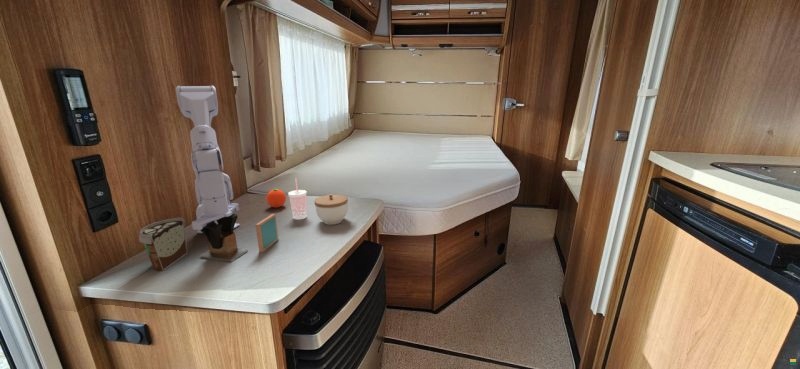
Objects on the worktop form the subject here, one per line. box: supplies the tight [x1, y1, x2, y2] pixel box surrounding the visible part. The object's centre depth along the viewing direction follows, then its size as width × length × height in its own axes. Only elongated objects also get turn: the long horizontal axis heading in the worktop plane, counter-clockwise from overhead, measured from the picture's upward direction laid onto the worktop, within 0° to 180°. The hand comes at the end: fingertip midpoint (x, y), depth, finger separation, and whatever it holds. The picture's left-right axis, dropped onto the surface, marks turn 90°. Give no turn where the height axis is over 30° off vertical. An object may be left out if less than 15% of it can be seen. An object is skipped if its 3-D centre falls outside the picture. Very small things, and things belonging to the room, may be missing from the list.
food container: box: [138, 217, 189, 272], centre depth 84 cm, size 12×6×10 cm, turn 178°
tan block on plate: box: [199, 231, 248, 263], centre depth 88 cm, size 10×6×6 cm, turn 74°
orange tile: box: [254, 213, 279, 253], centre depth 93 cm, size 1×8×8 cm, turn 169°
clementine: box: [266, 188, 287, 209], centre depth 125 cm, size 8×7×7 cm
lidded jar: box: [313, 193, 349, 225], centre depth 109 cm, size 11×11×9 cm
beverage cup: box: [287, 177, 308, 220], centre depth 113 cm, size 6×6×14 cm
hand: (222, 244), depth 88 cm, fingers closed on tan block on plate, 4 cm apart
